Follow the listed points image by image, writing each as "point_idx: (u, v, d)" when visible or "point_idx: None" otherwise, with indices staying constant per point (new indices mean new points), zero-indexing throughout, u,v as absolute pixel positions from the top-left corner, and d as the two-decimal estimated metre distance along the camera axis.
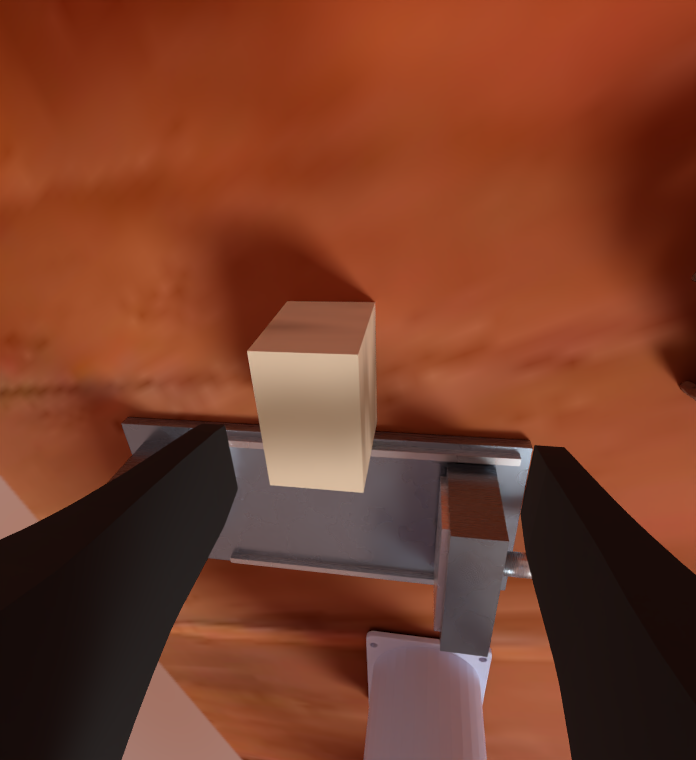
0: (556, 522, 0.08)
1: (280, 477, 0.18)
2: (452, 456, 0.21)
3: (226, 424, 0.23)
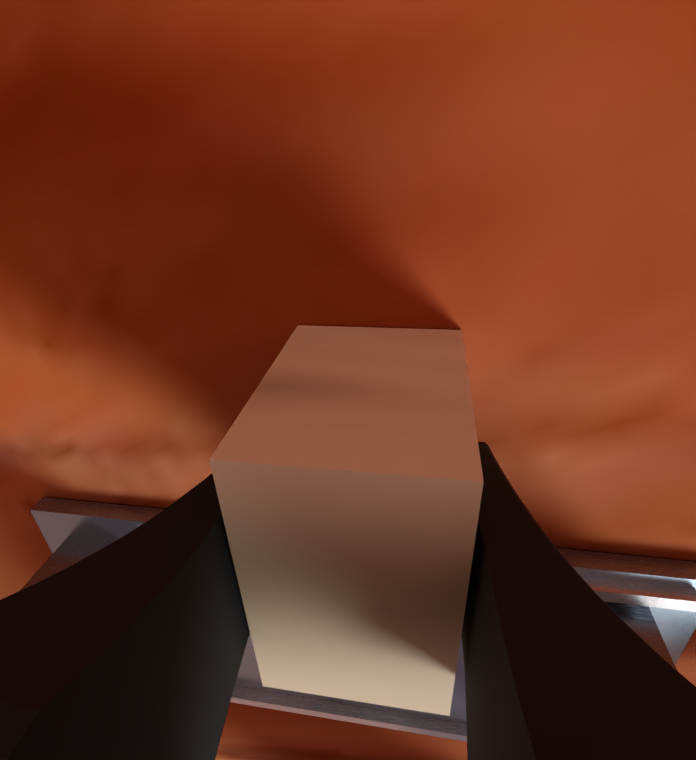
0: None
1: (283, 677, 0.09)
2: None
3: None
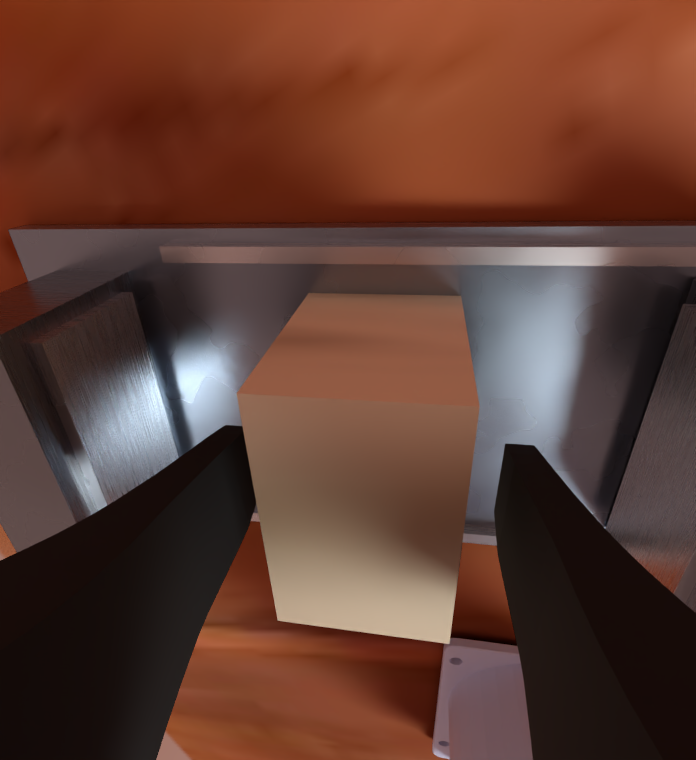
0: (521, 519, 0.08)
1: (296, 610, 0.10)
2: None
3: (215, 224, 0.12)
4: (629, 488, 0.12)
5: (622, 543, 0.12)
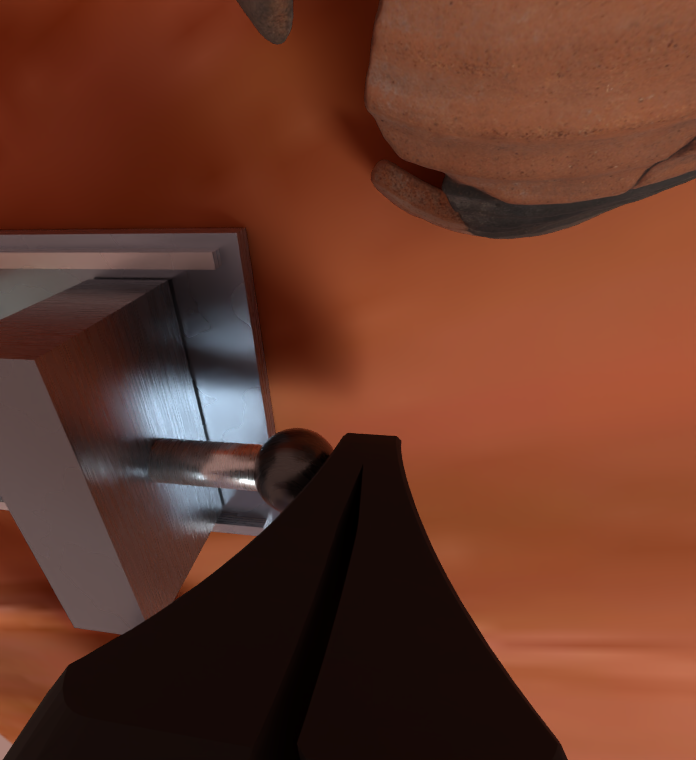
0: None
1: None
2: (95, 255, 0.11)
3: None
4: None
5: None
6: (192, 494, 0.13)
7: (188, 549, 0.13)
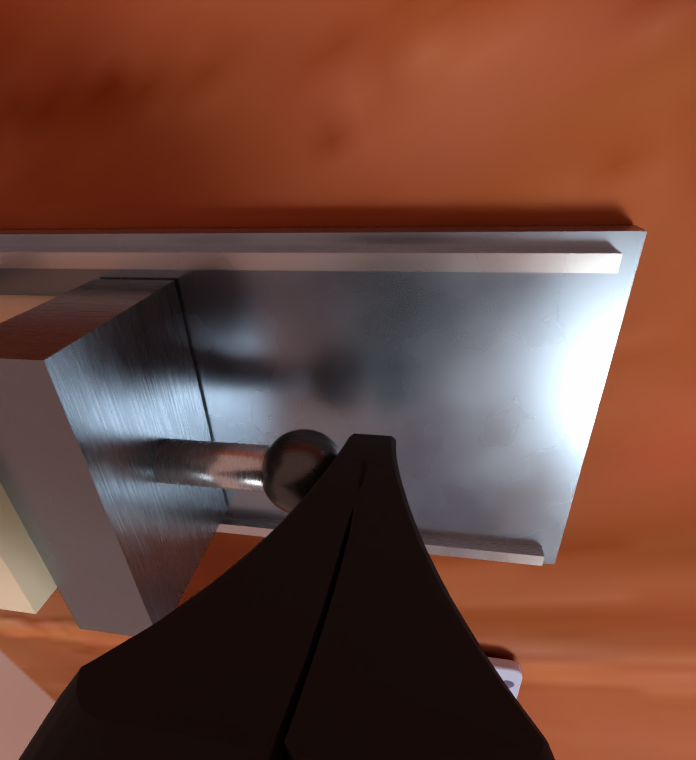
0: None
1: None
2: (467, 256, 0.10)
3: (21, 230, 0.12)
4: None
5: None
6: (197, 495, 0.13)
7: (193, 550, 0.13)
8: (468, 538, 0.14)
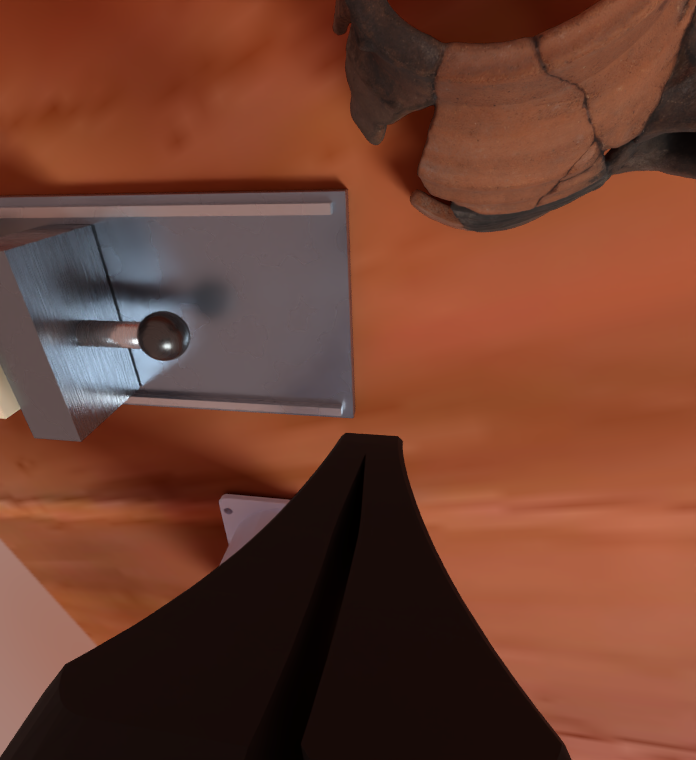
0: None
1: None
2: (251, 206, 0.17)
3: None
4: None
5: None
6: (112, 365, 0.20)
7: (109, 400, 0.20)
8: (297, 401, 0.21)
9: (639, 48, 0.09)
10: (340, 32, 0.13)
